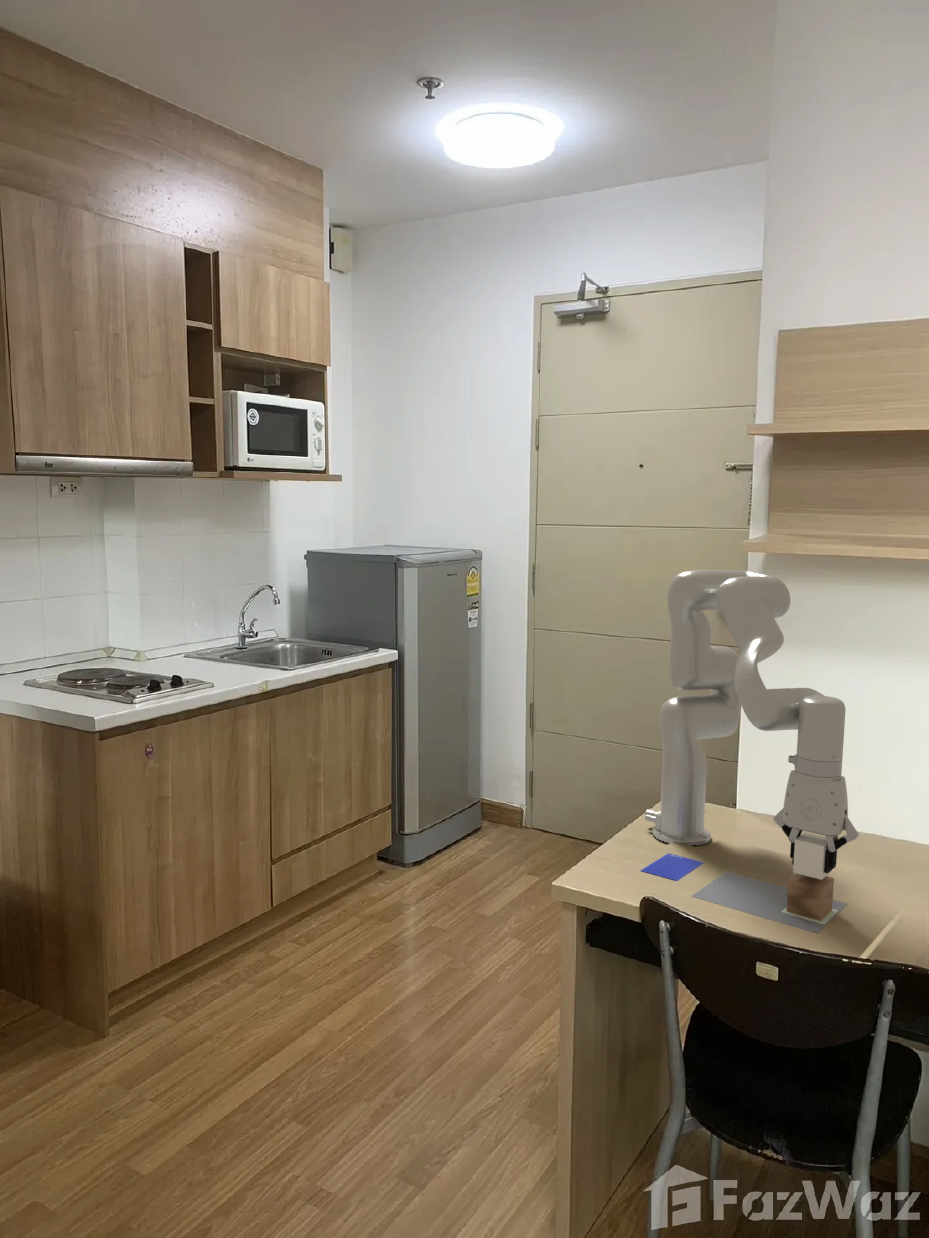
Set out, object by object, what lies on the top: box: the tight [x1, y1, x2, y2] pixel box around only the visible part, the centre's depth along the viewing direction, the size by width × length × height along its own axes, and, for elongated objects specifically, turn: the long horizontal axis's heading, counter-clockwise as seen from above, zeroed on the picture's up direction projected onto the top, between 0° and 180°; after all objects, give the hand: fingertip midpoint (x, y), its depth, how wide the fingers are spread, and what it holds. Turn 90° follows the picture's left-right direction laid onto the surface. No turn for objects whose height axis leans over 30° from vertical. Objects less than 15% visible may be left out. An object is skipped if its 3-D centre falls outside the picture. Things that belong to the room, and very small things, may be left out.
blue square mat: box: [639, 853, 705, 882], centre depth 185 cm, size 2×8×12 cm
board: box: [691, 871, 848, 934], centre depth 170 cm, size 23×16×1 cm
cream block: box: [792, 832, 832, 880], centre depth 164 cm, size 5×5×6 cm
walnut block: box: [787, 873, 835, 921], centre depth 164 cm, size 6×6×6 cm
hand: (812, 865), depth 164 cm, fingers closed on cream block, 4 cm apart
